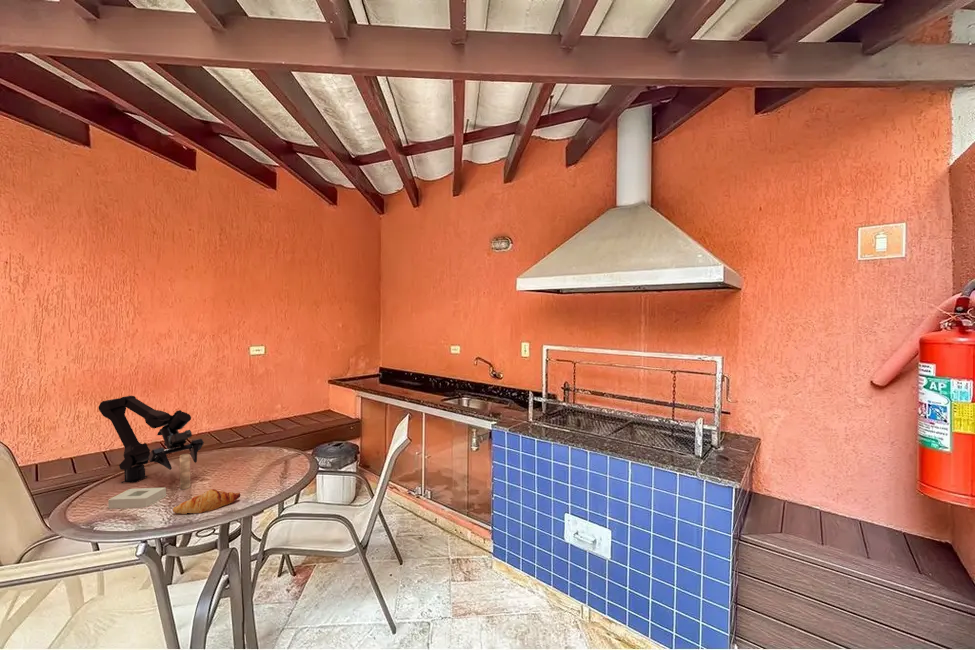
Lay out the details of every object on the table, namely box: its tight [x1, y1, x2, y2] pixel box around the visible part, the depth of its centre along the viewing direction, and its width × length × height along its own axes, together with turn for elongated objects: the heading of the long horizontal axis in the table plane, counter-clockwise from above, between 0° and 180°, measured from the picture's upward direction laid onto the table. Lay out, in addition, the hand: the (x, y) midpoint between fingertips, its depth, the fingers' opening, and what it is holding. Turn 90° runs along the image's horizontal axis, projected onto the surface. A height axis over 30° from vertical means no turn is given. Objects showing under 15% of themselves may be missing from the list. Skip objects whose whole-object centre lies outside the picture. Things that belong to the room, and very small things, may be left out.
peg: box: [179, 453, 192, 491], centre depth 171 cm, size 4×4×14 cm
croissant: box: [172, 488, 241, 515], centre depth 152 cm, size 21×10×8 cm, turn 122°
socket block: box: [107, 487, 167, 510], centre depth 157 cm, size 14×10×4 cm
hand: (183, 465), depth 171 cm, fingers open, 9 cm apart
